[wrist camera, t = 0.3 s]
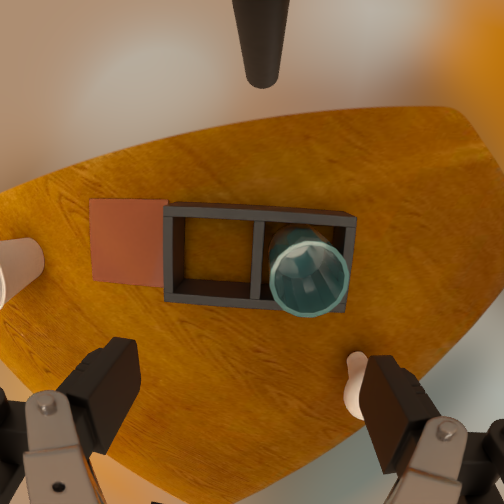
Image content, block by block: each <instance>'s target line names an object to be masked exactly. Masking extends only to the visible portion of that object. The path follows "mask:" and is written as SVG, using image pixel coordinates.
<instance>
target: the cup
mask: <svg viewBox="0 0 504 504" xmlns="http://www.w3.org/2000/svg"><path fill="white" fill-rule="evenodd" d="M268 268H269V286H270V289H271V292H272V295H273V298H274V300H275V301H276V302H277V303H278V304H279V306H280V307H281V308H282V309H283V310H284V311H286V312H288V313H291V314H293V315H295V316H297V317H316V316H319V315H322V314H325V313H328V312H329V311H330V310H332V309H333V308H334V307H335V306H337V305H338V304H339V303H340V302H341V300H342V298H343V296H344V295H345V293H346V291H347V289H348V282H349V271H348V267H347V264H346V261H345V259H344V258H343V257H342V255H341V254H340V253H339V252H338V250H337V249H336V248H335V247H334V246H333V245H332V244H331V243H330V242H329V241H328V240H327V239H326V238H325V237H324V236H323V235H322V234H321V233H320V232H319V231H318V230H317V229H315V228H313V227H312V226H310V225H307V224H299V223H293V224H289V225H286V226H284V227H282V228H281V229H279V230H278V231H277V232H276V233H275V234H274V236H273V237H272V239H271V241H270V244H269V248H268Z"/></svg>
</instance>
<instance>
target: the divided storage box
mask: <svg viewBox="0 0 504 504" xmlns="http://www.w3.org/2000/svg"><path fill="white" fill-rule="evenodd" d="M185 217H193V218H214V219H234V220H252V221H254V230H253V248H252V266H251V283H243V282H228V281H213V280H199V279H186V278H184V244H185ZM265 221H268V222H284V223H299V224H313V225H327V226H334V236H333V246H334V247H335V248H336V249H337V250H338V252H339V253H340V254H341V255H342V257H343V258H344V259H345V261H346V264H347V267H348V271H349V281H350V274H351V267H352V259H353V251H354V242H355V233H356V223H357V217H355V216H353V215H351V214H348V213H346V212H343V211H331V210H318V209H305V208H291V207H276V206H260V205H242V204H222V203H199V202H174V203H171V204H168V205H165V206H163V283H164V301H165V302H175V303H186V304H197V305H209V306H222V307H236V308H252V309H268V310H283V309H282V308H281V307H280V306H279V304H278V303H277V302H276V301H275V300H274V298H273V295H272V292H271V289H270V286H269V284H261V277H262V261H263V246H264V230H265ZM348 288H349V282H348ZM347 295H348V289H347V291H346V293H345V295H344V296H343V298H342V300H341V302H340V303H339V304H338V305H337V306H335V307H334V308H333V309H332V310H330V311H329V312H340V313H345V307H346V301H347Z"/></svg>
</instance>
